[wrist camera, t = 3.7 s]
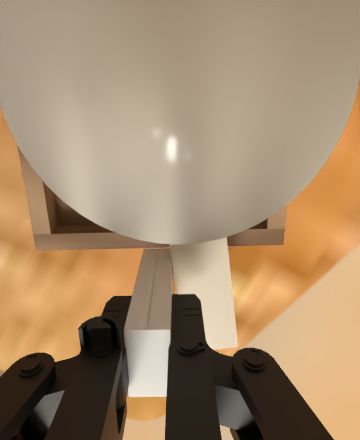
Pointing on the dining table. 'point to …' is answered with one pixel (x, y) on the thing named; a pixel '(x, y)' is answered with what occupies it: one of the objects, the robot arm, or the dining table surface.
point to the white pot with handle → (180, 116)
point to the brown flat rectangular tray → (103, 238)
